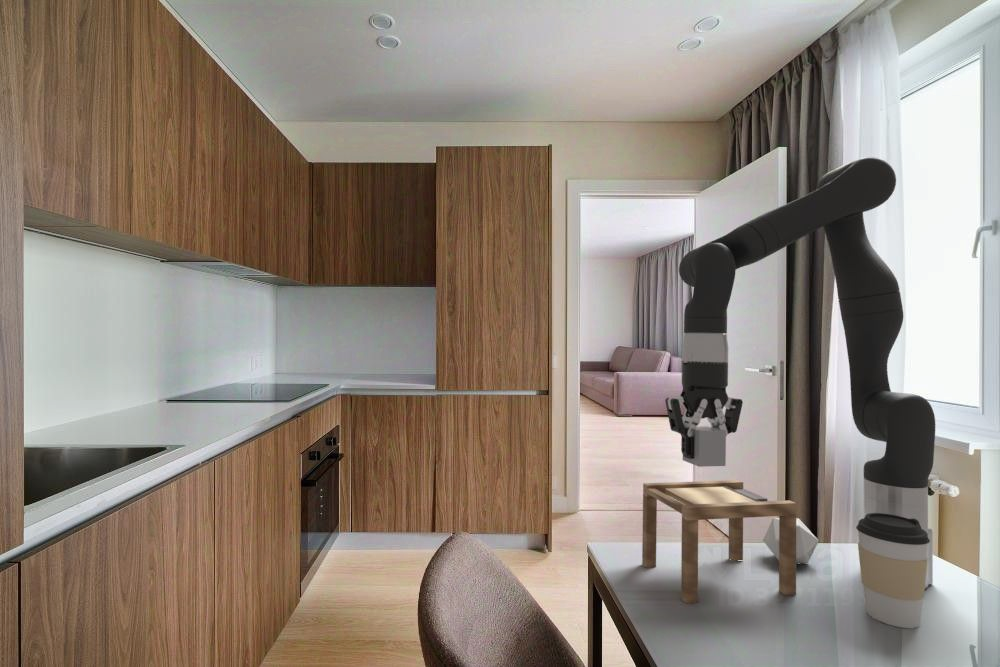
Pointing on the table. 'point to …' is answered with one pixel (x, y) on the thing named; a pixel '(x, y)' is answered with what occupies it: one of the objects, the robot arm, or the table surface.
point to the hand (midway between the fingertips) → (703, 457)
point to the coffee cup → (893, 568)
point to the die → (803, 540)
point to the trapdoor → (712, 495)
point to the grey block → (708, 447)
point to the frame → (735, 515)
